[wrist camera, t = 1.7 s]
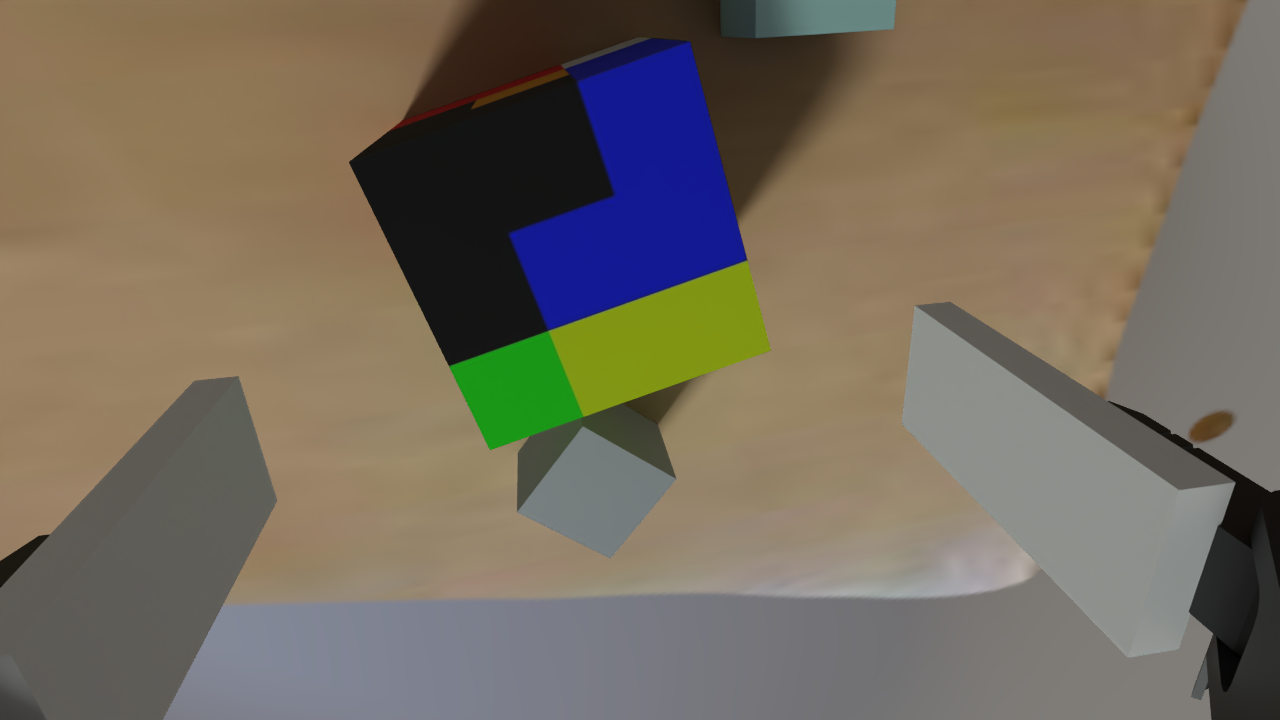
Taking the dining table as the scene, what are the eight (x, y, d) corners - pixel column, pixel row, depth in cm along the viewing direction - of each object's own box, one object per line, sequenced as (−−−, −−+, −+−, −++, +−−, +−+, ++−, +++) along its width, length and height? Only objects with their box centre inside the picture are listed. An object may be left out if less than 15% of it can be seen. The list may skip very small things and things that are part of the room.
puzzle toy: (638, 36, 29) (689, 41, 20) (704, 263, 34) (771, 350, 25) (402, 120, 29) (349, 162, 20) (498, 336, 34) (490, 449, 25)
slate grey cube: (575, 375, 35) (582, 426, 30) (657, 423, 37) (676, 479, 32) (517, 452, 36) (517, 512, 32) (600, 495, 38) (610, 558, 33)
